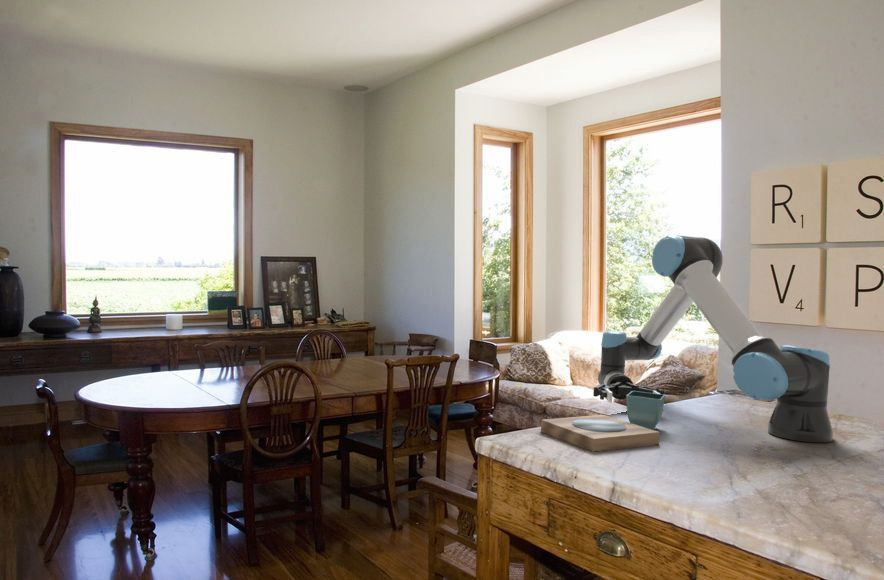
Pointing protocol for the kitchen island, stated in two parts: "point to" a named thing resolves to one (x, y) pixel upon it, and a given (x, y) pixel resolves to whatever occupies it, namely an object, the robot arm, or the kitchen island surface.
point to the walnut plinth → (599, 432)
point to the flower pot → (644, 408)
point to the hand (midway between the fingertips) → (635, 398)
